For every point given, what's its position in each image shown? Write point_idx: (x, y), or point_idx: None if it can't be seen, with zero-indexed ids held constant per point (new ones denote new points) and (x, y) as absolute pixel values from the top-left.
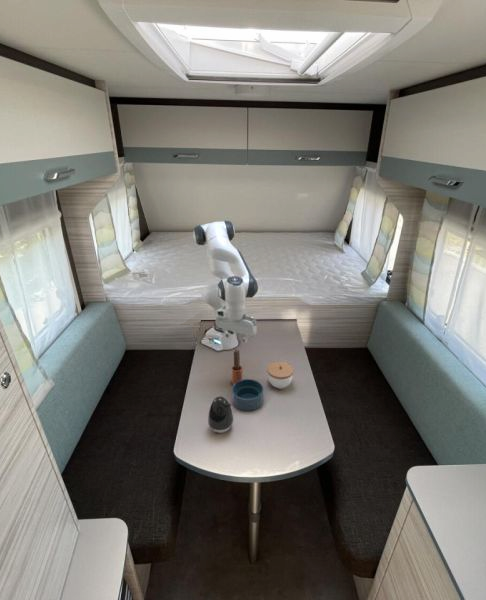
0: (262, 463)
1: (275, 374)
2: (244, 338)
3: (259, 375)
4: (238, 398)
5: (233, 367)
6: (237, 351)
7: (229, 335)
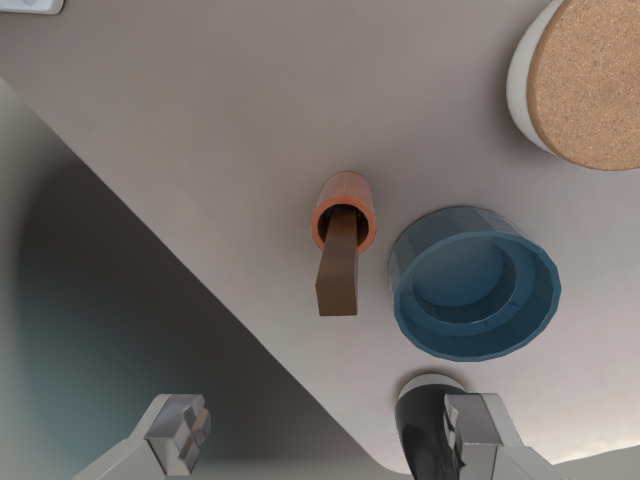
0: (606, 429)
1: (626, 155)
2: (481, 469)
3: (413, 72)
4: (460, 359)
5: (318, 228)
6: (346, 300)
7: (194, 411)
